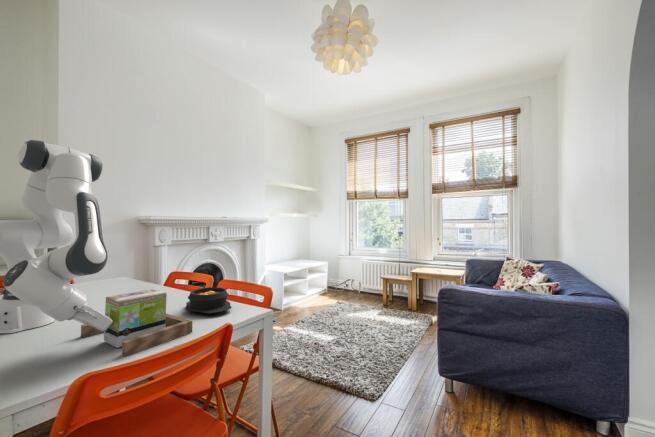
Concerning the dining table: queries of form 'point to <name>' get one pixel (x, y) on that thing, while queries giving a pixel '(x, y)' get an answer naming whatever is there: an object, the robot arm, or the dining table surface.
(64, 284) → the robot arm
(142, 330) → the tea box
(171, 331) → the dock
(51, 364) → the dining table surface
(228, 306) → the casserole
